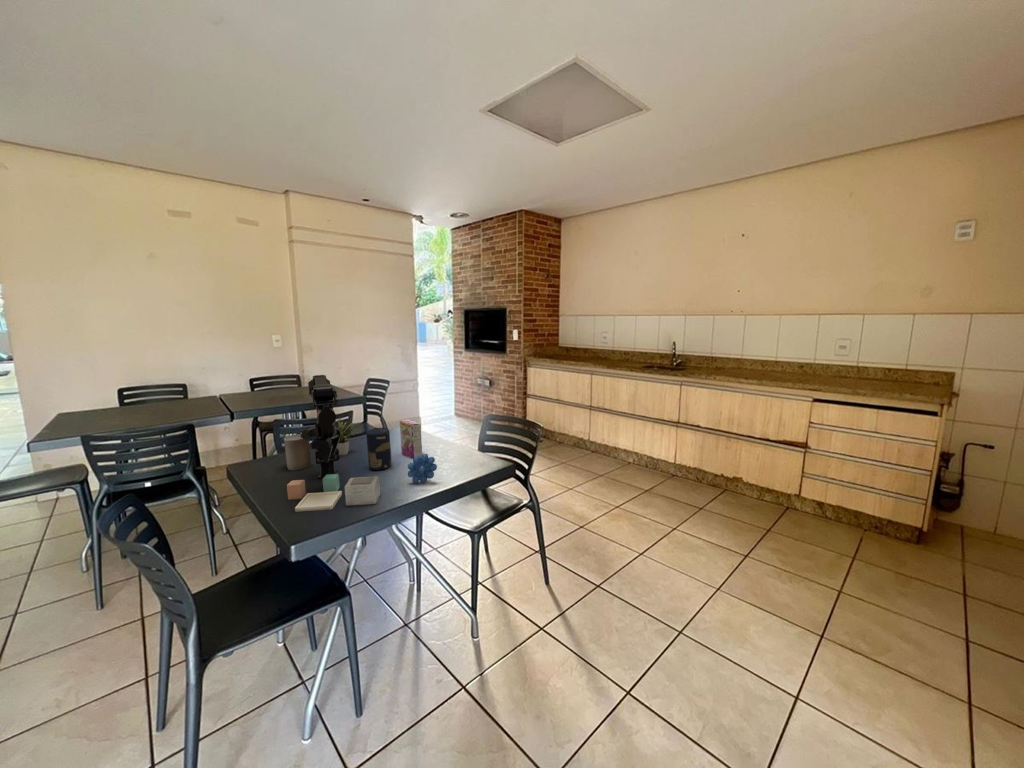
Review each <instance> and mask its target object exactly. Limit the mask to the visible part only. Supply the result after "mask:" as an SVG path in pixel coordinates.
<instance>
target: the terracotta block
mask: <svg viewBox="0 0 1024 768" xmlns="http://www.w3.org/2000/svg"><path fill="white" fill-rule="evenodd" d="M286 490H287V491H286V492H287V499H288V500H289V501H291V500H302V499H303V498H304V497H305V495H306V494H307V491H306V490H307V489H306V482H305V479H295V480H291V481H290V482H289V483H287V485H286Z"/></svg>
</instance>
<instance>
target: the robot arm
mask: <svg viewBox="0 0 1024 768" xmlns="http://www.w3.org/2000/svg"><path fill="white" fill-rule="evenodd" d="M307 387H308V395H309V396H310V399H311V400H310V401H312V406H313V408H315V409H316V411H315V412H316V420H317V421H316V423H315V424H314V426H313V427H312V426H311V427H310V428H305V429H302V430H301V432H300V434H301V438H303V439H304V441H306V440H308V439H309V440H310V439H312V438H314V437H315V439H313V440H312V441H311V442H309V446H310V450H314V458H315V460H314V461H315V465H319V472H320V474H319V475H318V476H317V479H323V478H324V477H325V476H326V475H329V474H339V471H338V470H336V464H335V463H336V462H338V461H339V460H340V459H341V458H340V456H339V449H338V448H337V446H338V443H339V440H340V438H341V437H340V436H341V435H342V434H343V431H342V429H341V428H340V427H339V426H338V427H336V425H335V424H336V423H337V420H336V419H337V415H336V412H335V410H334V406H337V403H338V400H339V399H338V398H339V397H338V392H337V390H336V388H335V387H333V385H332V383H331V381H330V380H329V379H328V378H327V375H324V374H316V375H312V379H311V380H310V381H308V383H307ZM335 427H336V428H335ZM337 434H339V437H337Z"/></svg>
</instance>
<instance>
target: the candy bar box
mask: <svg viewBox="0 0 1024 768" xmlns="http://www.w3.org/2000/svg"><path fill="white" fill-rule="evenodd" d="M421 425H422V424H421V423H420V422H417V421H414V420H411V419H409V418H408V419H403V420H400V421H399V428H400V429H399V430H400V433H399V434H400V444H401V445H400V446H401V447H400V448H401V454H402V455H404V456H406V457H408V458H411V459H413V458H414V457H415V456H419V457H420V458H421V455H423V447H422V444H423V443H422V426H421Z"/></svg>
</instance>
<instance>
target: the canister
mask: <svg viewBox="0 0 1024 768" xmlns="http://www.w3.org/2000/svg"><path fill="white" fill-rule="evenodd" d="M390 434H391V433H390V430H389V428H387V427H373V428H370V429H367V431H366V434H365V435H366V448H367V459H368V460H367V461H368V467H369V468H370V469H371V470H375V471H379V470H384V469H387V468H390V466H391V465H392V451H391V450H392V449H391V438H390V437H391V436H390Z"/></svg>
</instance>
